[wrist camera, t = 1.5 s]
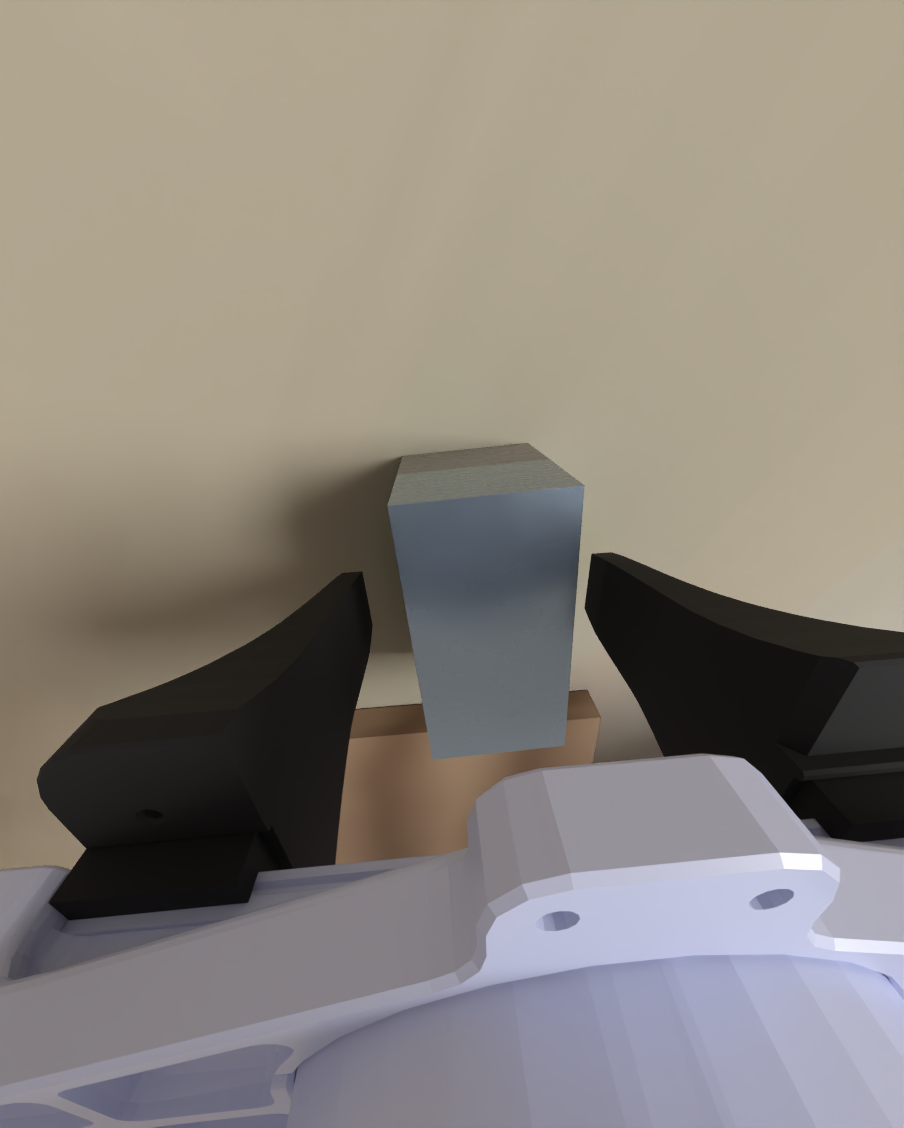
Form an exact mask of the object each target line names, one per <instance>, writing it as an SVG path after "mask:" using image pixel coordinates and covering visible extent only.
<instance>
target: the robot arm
mask: <svg viewBox="0 0 904 1128" xmlns="http://www.w3.org/2000/svg"><path fill="white" fill-rule="evenodd" d="M585 610H586V613H587V615H588V618H589V620H590V622H591V625H592V627H593V629H594V631H595V633H596V635H597V637H598V638H599V640H600V642H601V643H602V645H603V647H604V648H605V650H606V651H607V653H608V655H609V656H610V658H611V659H612V661H613V662H614V664H615V666H616V667H617V669H618V670H619V672H620V673H621V675H622V677H623V678H624V680H625V681H626V683H627V684H628V686H629V688H630V689H631V691H632V693H633V694H634V696H635V698H636V700H637V701H638V703H639V705H640V707H641V709H642V711H643V713H644V715H645V717H646V719H647V721H648V723H649V725H650V727H651V729H652V731H653V734H654V736H655V738H656V740H657V742H658V745H659V747H660V749H661V751H662V753H663V756H664V757H658V758H647V759H636V760H625V761H614V762H603V763H592V764H581V765H570V766H559V767H549V768H539V769H535V770H531V771H527V772H523V773H519V774H515V775H512V776H508V777H505V778H503V779H502V780H501V781H499V782H498V783H496V784H495V785H493V786H492V787H491V788H489V789H488V790H486V791H485V792H484V793H482V794H481V795H480V796H479V797H478V798H477V799H476V800H475V803H474V805H473V808H472V810H471V813H470V816H469V818H468V821H467V831H468V848H465V849H461V850H458V851H454V852H451V853H448V854H440V855H430V856H420V857H409V858H399V859H389V860H378V861H368V862H358V863H347V864H337V865H335V863H336V851H337V840H338V831H339V821H340V812H341V802H342V793H343V785H344V777H345V769H346V761H347V754H348V747H349V740H350V733H351V727H352V722H353V717H354V712H355V709H356V705H357V701H358V697H359V693H360V689H361V685H362V681H363V677H364V673H365V669H366V665H367V661H368V657H369V653H370V645H371V635H372V620H371V615H370V610H369V604H368V599H367V594H366V589H365V583H364V578H363V573H362V572H350V573H342V574H340V575H339V576H338V577H336V578H335V579H334V580H333V581H332V582H330V583H329V584H328V585H327V586H326V587H325V588H323V589H322V590H321V591H320V592H319V593H318V594H316V595H315V596H314V597H313V598H312V599H310V600H309V601H308V602H307V603H306V604H304V605H303V606H302V607H300V608H299V609H298V610H296V611H295V612H294V613H292V614H291V615H290V616H289V617H287V618H286V619H285V620H283V621H282V622H281V623H279V624H278V625H276V626H275V627H273V628H272V629H270V630H269V631H267V632H266V633H264V634H262V635H261V636H259V637H258V638H256V639H254V640H253V641H251V642H249V643H248V644H246V645H244V646H242V647H240V648H239V649H237V650H235V651H233V652H231V653H229V654H227V655H225V656H223V657H221V658H220V659H218V660H216V661H214V662H212V663H210V664H208V665H206V666H203V667H201V668H199V669H197V670H195V671H193V672H190V673H188V674H186V675H183V676H181V677H179V678H176V679H174V680H172V681H169V682H167V683H164V684H162V685H159V686H157V687H154V688H152V689H149V690H146V691H143V692H141V693H138V694H135V695H132V696H129V697H127V698H124V699H121V700H118V701H116V702H113V703H110V704H107V705H104V706H101V707H98V708H97V709H96V710H95V711H94V712H93V713H92V714H91V715H90V717H89V718H88V719H87V720H86V721H85V722H84V723H83V724H82V725H81V726H80V727H79V728H78V729H77V730H76V731H75V732H74V733H73V734H72V735H71V736H70V737H69V739H68V740H67V741H66V742H65V743H64V744H63V745H62V746H61V747H60V748H59V749H58V750H57V751H56V752H55V753H54V754H53V755H52V756H51V757H50V758H49V760H48V761H47V762H46V763H45V764H44V765H43V766H42V767H41V768H40V771H39V775H38V778H37V784H38V788H39V793H40V797H41V799H42V800H43V802H44V803H45V805H46V806H47V807H48V809H49V810H50V811H51V812H52V813H53V814H54V815H55V816H56V817H57V818H58V819H59V821H60V822H61V823H62V824H63V825H64V826H65V827H66V828H67V829H68V830H69V831H70V832H71V833H72V834H73V835H74V836H75V837H76V838H77V839H78V840H79V841H80V842H81V843H82V844H83V846H84V847H85V848H87V849H86V850H85V852H84V853H83V854H82V856H81V857H80V859H79V860H78V862H77V863H76V864H75V866H74V867H73V869H72V870H70V869H68V868H64V867H60V866H51V865H44V866H33V867H23V868H12V869H2V870H0V1128H904V632H896V631H889V630H881V629H873V628H865V627H859V626H853V625H847V624H841V623H835V622H830V621H824V620H819V619H814V618H809V617H804V616H799V615H794V614H790V613H786V612H781V611H777V610H773V609H769V608H765V607H761V606H757V605H753V604H750V603H746V602H743V601H739V600H736V599H733V598H730V597H726V596H723V595H720V594H717V593H714V592H711V591H708V590H705V589H703V588H700V587H697V586H695V585H692V584H689V583H686V582H684V581H681V580H679V579H676V578H674V577H672V576H669V575H667V574H664V573H662V572H660V571H657V570H655V569H653V568H650V567H648V566H646V565H643V564H641V563H639V562H636V561H634V560H631V559H629V558H626V557H624V556H621V555H618V554H615V553H611V552H610V553H597V554H592V555H591V563H590V571H589V578H588V586H587V594H586V601H585Z"/></svg>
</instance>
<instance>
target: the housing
mask: <svg viewBox="0 0 904 1128" xmlns="http://www.w3.org/2000/svg"><path fill="white" fill-rule="evenodd" d="M583 497H584V485H583V484H582V483H580V482H579V481H578V480H576V479H575V478H574V477H572V476H571V475H570V474H568V473H567V472H566V471H564V470H563V469H562V468H560V467H559V466H558V465H557V464H555V463H554V462H553V461H551V460H550V459H549V458H547V457H546V456H545V455H543V454H542V453H541V452H539V451H538V450H537V449H535V448H534V447H533V446H531V445H530V444H529V443H524V444H515V445H505V446H495V447H486V448H476V449H466V450H457V451H447V452H437V453H427V454H418V455H408V456H402V459H401V463H400V466H399V469H398V472H397V476H396V479H395V482H394V486H393V489H392V492H391V495H390V499H389V502H388V505H387V507H388V513H389V518H390V524H391V530H392V535H393V541H394V546H395V552H396V558H397V563H398V569H399V575H400V580H401V586H402V591H403V597H404V603H405V608H406V614H407V620H408V625H409V631H410V636H411V642H412V648H413V653H414V659H415V665H416V670H417V676H418V681H419V687H420V693H421V698H422V704H423V710H424V715H425V721H426V726H427V732H428V738H429V743H430V749H431V755H432V760H437V759H446V758H455V757H465V756H474V755H483V754H492V753H502V752H511V751H520V750H529V749H538V748H548V747H557V746H565V736H566V722H567V709H568V696H569V683H570V669H571V656H572V643H573V629H574V616H575V603H576V590H577V576H578V563H579V550H580V536H581V523H582V510H583Z"/></svg>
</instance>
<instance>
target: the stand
mask: <svg viewBox="0 0 904 1128" xmlns="http://www.w3.org/2000/svg"><path fill="white" fill-rule="evenodd" d="M600 720H601V716H600V714H599V712H598V710H597V708H596V706H595V704H594V702H593V700H592V698H591V696H590V694H589V692H588V690H585V691H573V692H569V696H568V709H567V722H566V736H565V746H557V747H548V748H538V749H529V750H520V751H511V752H502V753H492V754H483V755H474V756H465V757H455V758H446V759H437V760H432V755H431V749H430V743H429V738H428V732H427V726H426V721H425V715H424V710H423V704H417V705H406V706H394V707H382V708H370V709H358V710H355V712H354V717H353V722H352V727H351V733H350V740H349V747H348V754H347V761H346V769H345V777H344V785H343V793H342V802H341V812H340V821H339V831H338V840H337V851H336V863H335V865H337V864H347V863H358V862H368V861H378V860H389V859H399V858H409V857H420V856H430V855H440V854H448V853H451V852H454V851H458V850H461V849H465V848H468V831H467V821H468V818H469V816H470V813H471V810H472V808H473V805H474V803H475V800H476V799H477V798H478V797H479V796H480V795H481V794H482V793H484V792H485V791H486V790H488V789H489V788H491V787H492V786H493V785H495V784H496V783H498V782H499V781H501V780H502V779H503V778H505V777H508V776H512V775H515V774H519V773H523V772H527V771H531V770H535V769H539V768H549V767H559V766H570V765H581V764H592V763H593V758H594V753H595V748H596V742H597V737H598V731H599V726H600Z"/></svg>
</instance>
